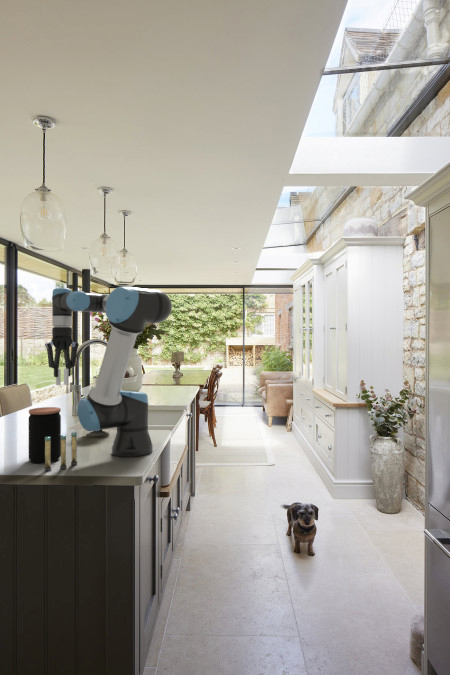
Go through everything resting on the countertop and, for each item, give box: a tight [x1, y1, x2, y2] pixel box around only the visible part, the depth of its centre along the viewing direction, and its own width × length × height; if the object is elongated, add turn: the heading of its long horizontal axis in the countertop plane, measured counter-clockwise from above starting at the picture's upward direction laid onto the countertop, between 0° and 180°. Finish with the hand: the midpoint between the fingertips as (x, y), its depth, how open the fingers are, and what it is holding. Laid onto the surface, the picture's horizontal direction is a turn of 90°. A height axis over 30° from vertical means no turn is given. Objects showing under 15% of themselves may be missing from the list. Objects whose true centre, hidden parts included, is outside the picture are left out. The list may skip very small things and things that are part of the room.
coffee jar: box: [28, 406, 62, 465], centre depth 155 cm, size 11×11×18 cm
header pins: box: [44, 431, 78, 472], centre depth 145 cm, size 4×11×11 cm, turn 135°
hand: (62, 384), depth 176 cm, fingers open, 3 cm apart
